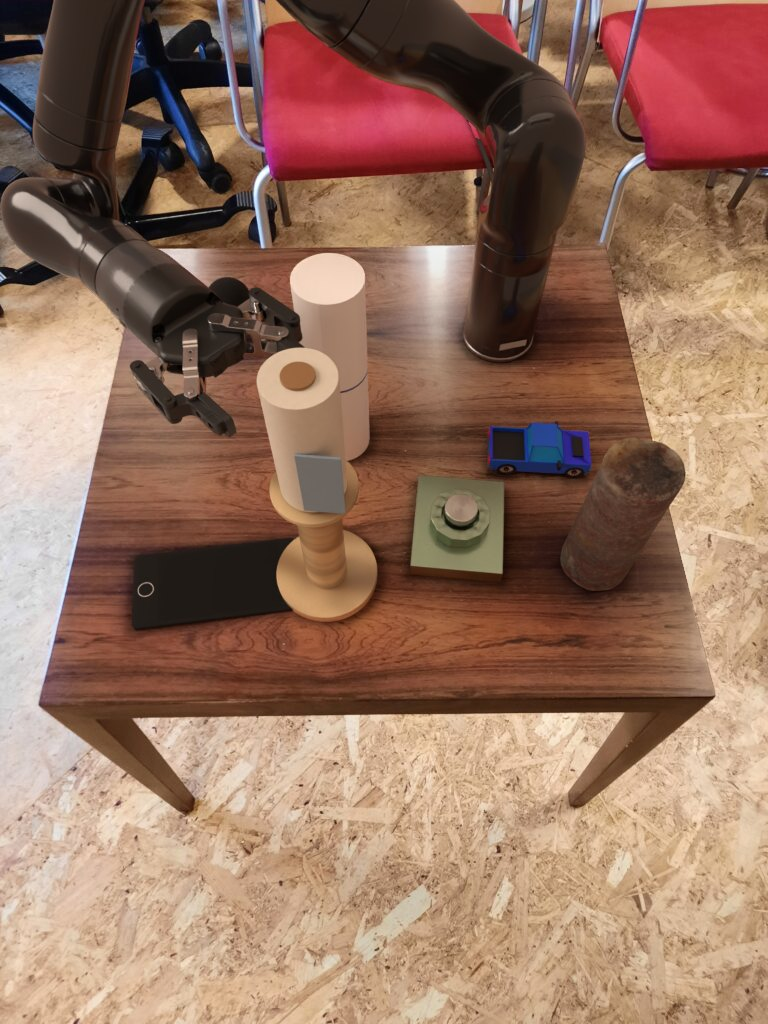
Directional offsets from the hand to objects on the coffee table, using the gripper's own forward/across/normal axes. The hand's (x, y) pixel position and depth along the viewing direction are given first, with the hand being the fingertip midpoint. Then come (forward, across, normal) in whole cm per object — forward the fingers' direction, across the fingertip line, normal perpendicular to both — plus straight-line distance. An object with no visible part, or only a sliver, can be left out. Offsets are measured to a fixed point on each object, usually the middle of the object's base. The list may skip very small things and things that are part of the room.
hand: (273, 400), depth 60 cm
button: (+10, +14, +23) cm, 29 cm away
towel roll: (+4, 0, +8) cm, 9 cm away
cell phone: (-4, -9, +27) cm, 29 cm away
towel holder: (+4, 0, +26) cm, 27 cm away
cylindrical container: (-9, +14, +27) cm, 31 cm away
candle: (+24, +22, +27) cm, 42 cm away
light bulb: (-31, +15, +27) cm, 44 cm away
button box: (+10, +14, +26) cm, 32 cm away
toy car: (+10, +29, +27) cm, 40 cm away
